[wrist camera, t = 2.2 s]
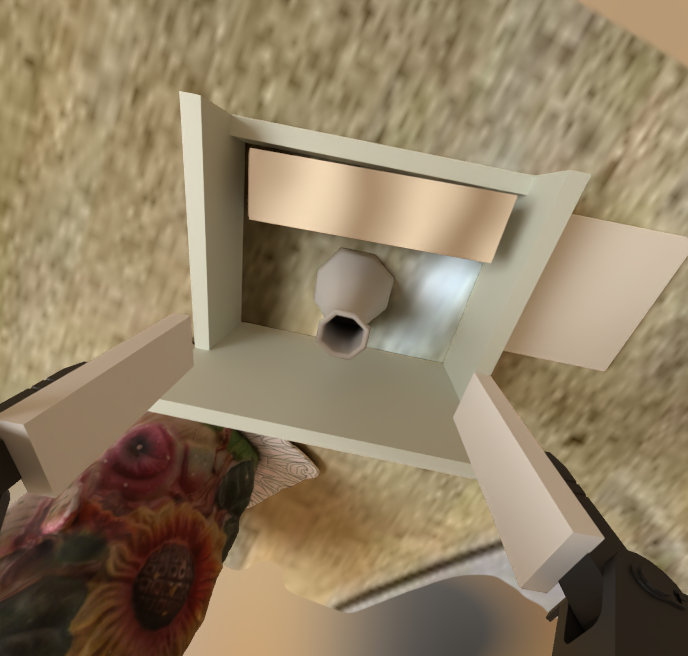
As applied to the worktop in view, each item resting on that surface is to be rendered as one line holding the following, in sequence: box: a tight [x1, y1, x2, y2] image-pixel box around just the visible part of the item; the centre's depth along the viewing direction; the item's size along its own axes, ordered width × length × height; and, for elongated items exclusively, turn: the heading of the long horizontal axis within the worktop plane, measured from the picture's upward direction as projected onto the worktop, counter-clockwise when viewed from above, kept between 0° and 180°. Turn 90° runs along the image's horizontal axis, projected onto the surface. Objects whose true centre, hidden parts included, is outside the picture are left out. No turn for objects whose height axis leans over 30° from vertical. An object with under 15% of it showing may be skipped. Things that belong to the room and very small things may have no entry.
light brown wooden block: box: [248, 148, 518, 263], centre depth 20 cm, size 17×4×6 cm, turn 81°
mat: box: [503, 214, 688, 372], centre depth 23 cm, size 11×12×1 cm
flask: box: [314, 248, 394, 360], centre depth 21 cm, size 7×7×10 cm
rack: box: [147, 91, 591, 480], centre depth 19 cm, size 23×18×12 cm
